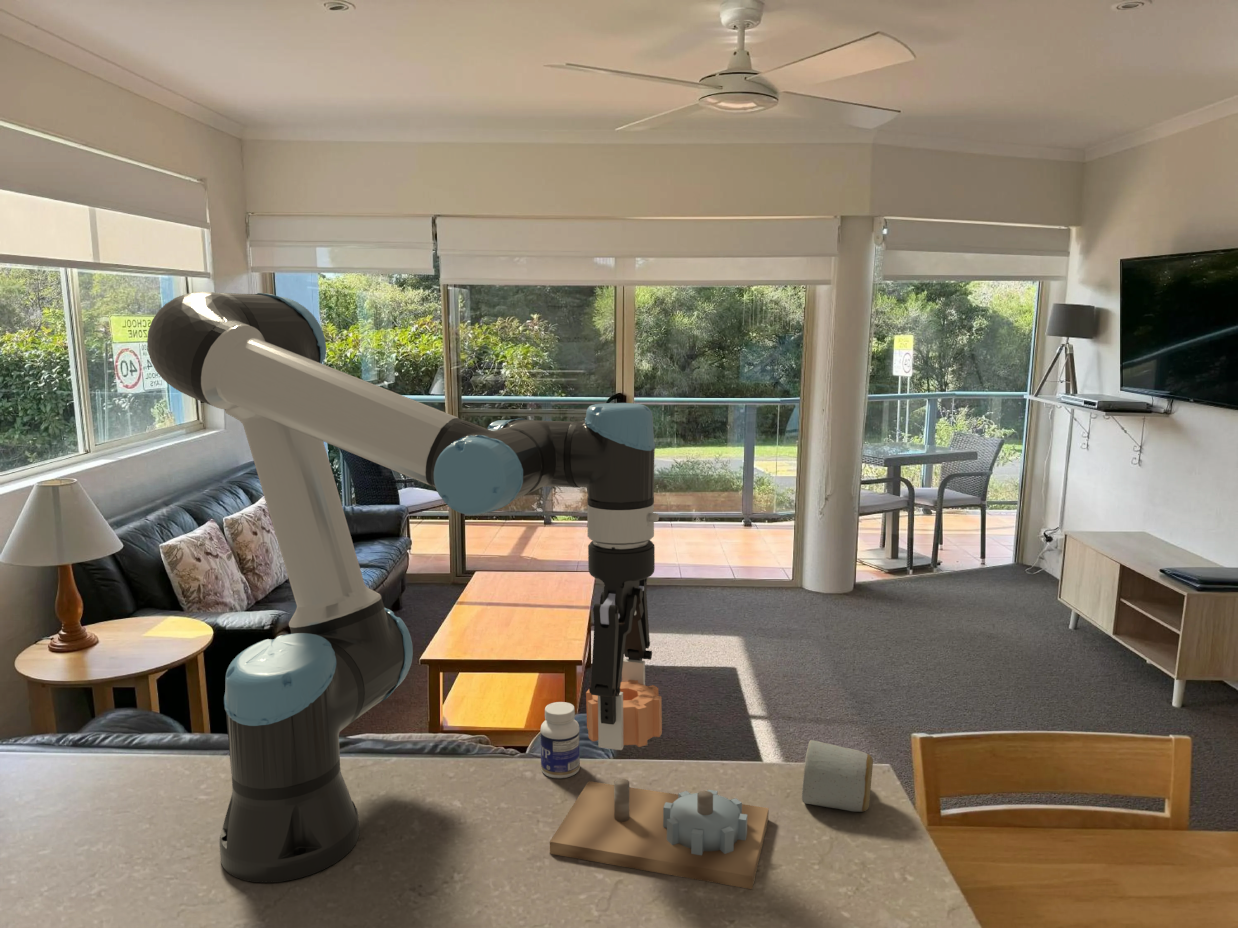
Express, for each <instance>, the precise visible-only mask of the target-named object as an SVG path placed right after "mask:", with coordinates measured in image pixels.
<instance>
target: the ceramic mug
mask: <svg viewBox="0 0 1238 928" xmlns="http://www.w3.org/2000/svg"><path fill="white" fill-rule="evenodd" d="M873 768H874V759H873V757H872V755H870V754H868V753H867V752H865V751H864V752H863V751H861V750H858V749H853V748H848V747H844V746H840V745H835V744H831V743H828V742H822V741H818V740H813V739H811V740H809V742H808V744H807V749H806V753H805V760H804V767H803V776H802V778H803V779H802V788H801V789H802V790H801V801H802V803H804V804H807V805H813V806H820V807H824V808H825V807H826V808H831V809H839V810H843V811H848V812H858V813H859V812H865V811H867V810H868V809H869V806H870V800H871V799H870V797H871V789H872V778H873Z"/></svg>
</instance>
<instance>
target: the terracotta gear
mask: <svg viewBox="0 0 1238 928" xmlns="http://www.w3.org/2000/svg"><path fill="white" fill-rule="evenodd" d="M620 692H623V744H624V746H636V747H638V748H641V747H644V746H648V740H651V738H654V737H655V738H660V737H661V735H662V733H663V720H662V719H663V718H662V717H663V715H662V714H663V713H662V711H663V710H662V709H663V707H662V701H663V700H662V696H661V695H659V687H657V686H656V685H654V684H651V685H647V684H645V685H643V684H639V683H638V680H629V681H628V682H622V681H621V685H620ZM585 696H586V698H585V700H586V702H585V703H586V704H585V705H586V706H585V707H586V708H585V709H586V729H587V732H588V733H587V734H588V739H589V740H590V741H591V742H597V741H598V696H597V695H591V693H590V692H589V689H588V690H587V691H586V692H585Z"/></svg>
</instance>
